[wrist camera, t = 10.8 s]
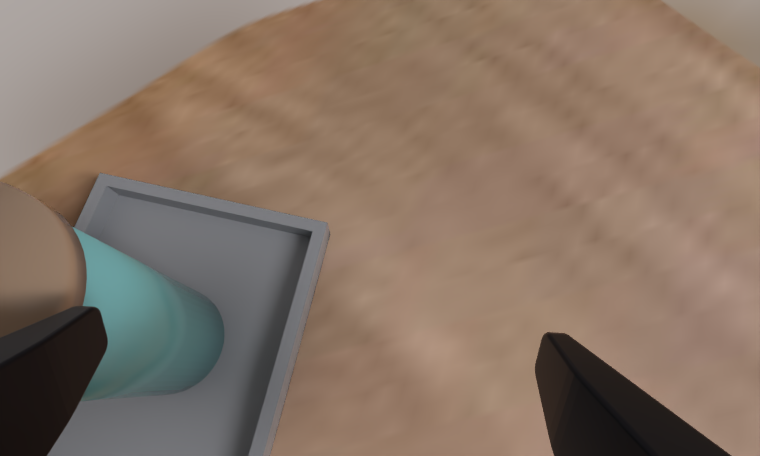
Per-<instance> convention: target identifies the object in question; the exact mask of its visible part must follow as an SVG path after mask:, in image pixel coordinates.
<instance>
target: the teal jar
mask: <svg viewBox="0 0 760 456" xmlns="http://www.w3.org/2000/svg"><path fill="white" fill-rule="evenodd" d="M74 306H93V307H96V308H98V309H99V310H100V312H101V315H102V318H103V322H104V326H105V330H106V334H107V337H108V346H107V350H106V352H105V354H104V356H103V358H102V360H101V362H100V364H99V366H98V368H97V370H96V372H95V374H94V375H93V377H92V379H91V381H90V383H89V385H88V387H87V389H86V391H85V393H84V395H83V397H82V399H81V401H93V400H106V399H119V398H132V397H145V396H158V395H169V394H176V393H179V392H183V391H185V390H187V389H189V388H191V387H193V386H195V385H196V384H198V383H199V382H200V381H202V380H203V379H204V378H205V377H206V376H207V375H208V374H209V373H210V371H211V370H212V369H213V367H214V366H215V364H216V363H217V361H218V359H219V357H220V354H221V352H222V348H223V344H224V324H223V320H222V317H221V314H220V312H219V310H218V309H217V307H216V306H215V304H214V303H213V302H212V301H211V300H210V299H209V298H207V297H206V296H205V295H203V294H201V293H200V292H198V291H196V290H194V289H192V288H190V287H188V286H186V285H184V284H182V283H180V282H178V281H176V280H174V279H172V278H171V277H169V276H167V275H165V274H163V273H161V272H159V271H157V270H155V269H153V268H151V267H149V266H147V265H145V264H143V263H142V262H140V261H138V260H136V259H134V258H132V257H130V256H128V255H126V254H124V253H122V252H120V251H118V250H116V249H114V248H113V247H111V246H109V245H107V244H105V243H103V242H101V241H99V240H97V239H95V238H93V237H91V236H89V235H87V234H85V233H84V232H82V231H80V230H78V229H76V228H74V227H72V226H71V225H70V224H69V223H68V221H67V220H66V219H65V218H64V217H63V216H62V215H61V214H60V213H58V212H57V211H56V210H55V209H53V208H52V207H50V206H49V205H47V204H45V203H44V202H42V201H40V200H38V199H36V198H34V197H33V196H31V195H29V194H27V193H25V192H23V191H22V190H20V189H18V188H16V187H13V186H11V185H9V184H6V183H3V182H0V337H3V336H5V335H8V334H10V333H12V332H15V331H17V330H19V329H22V328H24V327H26V326H29V325H31V324H33V323H36V322H38V321H40V320H43V319H45V318H47V317H50V316H52V315H54V314H57V313H59V312H62V311H64V310H66V309H69V308H71V307H74Z"/></svg>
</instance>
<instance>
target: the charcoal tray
mask: <svg viewBox="0 0 760 456" xmlns="http://www.w3.org/2000/svg"><path fill="white" fill-rule="evenodd" d="M74 228H76V229H78V230H80V231H82V232H84V233H85V234H87V235H89V236H91V237H93V238H95V239H97V240H99V241H101V242H103V243H105V244H107V245H109V246H111V247H113V248H114V249H116V250H118V251H120V252H122V253H124V254H126V255H128V256H130V257H132V258H134V259H136V260H138V261H140V262H142V263H143V264H145V265H147V266H149V267H151V268H153V269H155V270H157V271H159V272H161V273H163V274H165V275H167V276H169V277H171V278H172V279H174V280H176V281H178V282H180V283H182V284H184V285H186V286H188V287H190V288H192V289H194V290H196V291H198V292H200V293H201V294H203V295H205V296H206V297H207V298H209V299H210V300H211V301H212V302H213V303H214V304H215V306H216V307H217V309H218V310H219V312H220V314H221V317H222V320H223V324H224V344H223V348H222V352H221V354H220V357H219V359H218V361H217V363H216V364H215V366H214V367H213V369H212V370H211V371H210V373H209V374H208V375H207V376H206V377H205V378H204V379H203V380H202V381H200V382H199V383H198V384H196V385H195V386H193V387H191V388H189V389H187V390H185V391H183V392H179V393H176V394H169V395H158V396H145V397H132V398H119V399H106V400H93V401H80V402H79V404H78V406H77V408H76V410H75V412H74V414H73V415H72V417H71V419H70V421H69V422H68V424H67V426H66V427H65V429H64V430H63V432H62V434H61V435H60V437H59V438H58V440H57V441H56V443H55V444H54V446H53V447H52V449H51V451H50V452H49V454H48V455H47V456H270V454H271V450H272V446H273V443H274V439H275V435H276V431H277V428H278V424H279V420H280V417H281V413H282V409H283V406H284V402H285V398H286V395H287V391H288V387H289V384H290V380H291V376H292V373H293V369H294V365H295V362H296V358H297V354H298V351H299V347H300V343H301V340H302V336H303V332H304V329H305V325H306V321H307V318H308V314H309V310H310V306H311V303H312V299H313V295H314V292H315V288H316V284H317V281H318V277H319V273H320V270H321V266H322V262H323V259H324V255H325V251H326V248H327V244H328V240H329V237H330V231H329V227H328V223H326V222H322V221H317V220H313V219H308V218H303V217H299V216H294V215H290V214H285V213H281V212H276V211H272V210H267V209H262V208H258V207H253V206H249V205H244V204H240V203H235V202H231V201H226V200H221V199H217V198H212V197H208V196H203V195H199V194H194V193H190V192H185V191H181V190H176V189H171V188H167V187H162V186H158V185H153V184H149V183H144V182H140V181H135V180H130V179H126V178H121V177H117V176H112V175H108V174H103V173H100V174H99V176H98V178H97V180H96V182H95V185H94V187H93V189H92V191H91V193H90V195H89V197H88V199H87V202H86V204H85V206H84V208H83V210H82V212H81V214H80V216H79V219H78V221H77V223H76V225H75V227H74Z"/></svg>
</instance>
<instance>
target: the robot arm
mask: <svg viewBox="0 0 760 456" xmlns="http://www.w3.org/2000/svg"><path fill="white" fill-rule="evenodd" d="M107 346H108V337H107V334H106V330H105V326H104V322H103V318H102V315H101V312H100V310H99V309H98V308H96V307H93V306H74V307H71V308H69V309H66V310H64V311H62V312H59V313H57V314H54V315H52V316H50V317H47V318H45V319H43V320H40V321H38V322H36V323H33V324H31V325H29V326H26V327H24V328H22V329H19V330H17V331H15V332H12V333H10V334H8V335H5V336H3V337H0V456H47V455H48V454H49V452H50V451H51V449H52V447H53V446H54V444H55V443H56V441H57V440H58V438H59V437H60V435H61V434H62V432H63V430H64V429H65V427H66V426H67V424H68V422H69V421H70V419H71V417H72V415H73V414H74V412H75V410H76V408H77V406H78V404H79V402H80V401H81V399H82V397H83V395H84V393H85V391H86V389H87V387H88V385H89V383H90V381H91V379H92V377H93V375H94V374H95V372H96V370H97V368H98V366H99V364H100V362H101V360H102V358H103V356H104V354H105V352H106V350H107ZM535 375H536V380H537V384H538V389H539V393H540V398H541V403H542V407H543V412H544V416H545V421H546V426H547V430H548V435H549V439H550V443H551V447H552V450H553V453H554V456H731V455H730V454H728V453H727V452H726V451H724V450H723V449H722V448H720V447H719V446H718V445H716V444H715V443H714V442H712V441H711V440H709V439H708V438H707V437H705V436H704V435H703V434H701V433H700V432H699V431H697V430H696V429H695V428H693V427H692V426H691V425H689V424H688V423H686V422H685V421H684V420H682V419H681V418H680V417H678V416H677V415H676V414H674V413H673V412H672V411H670V410H669V409H668V408H666V407H665V406H664V405H662V404H661V403H659V402H658V401H657V400H655V399H654V398H653V397H651V396H650V395H649V394H647V393H646V392H645V391H643V390H642V389H641V388H639V387H638V386H636V385H635V384H634V383H632V382H631V381H630V380H628V379H627V378H626V377H624V376H623V375H622V374H620V373H619V372H618V371H616V370H615V369H613V368H612V367H611V366H609V365H608V364H607V363H605V362H604V361H603V360H601V359H600V358H599V357H597V356H596V355H595V354H593V353H592V352H590V351H589V350H588V349H586V348H585V347H584V346H582V345H581V344H580V343H578V342H577V341H576V340H574V339H573V338H572V337H570V336H569V335H567V334H565V333H553V332H547V333H545V334H544V335H543V337H542V340H541V344H540V348H539V352H538V356H537V360H536V364H535Z"/></svg>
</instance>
